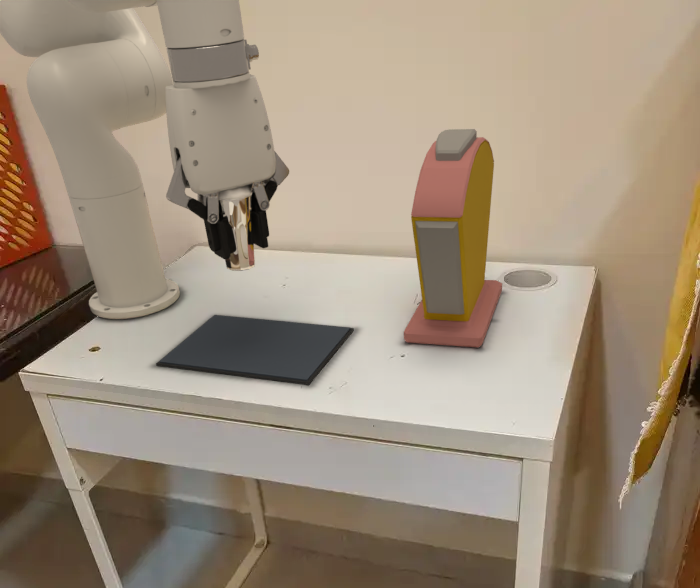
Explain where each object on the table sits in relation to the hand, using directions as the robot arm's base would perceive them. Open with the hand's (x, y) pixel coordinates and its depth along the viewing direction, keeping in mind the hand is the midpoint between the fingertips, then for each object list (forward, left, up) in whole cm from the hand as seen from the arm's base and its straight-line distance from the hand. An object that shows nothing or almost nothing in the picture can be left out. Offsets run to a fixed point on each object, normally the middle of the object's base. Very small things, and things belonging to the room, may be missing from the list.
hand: (240, 248), depth 81 cm
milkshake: (0, 0, -2) cm, 2 cm away
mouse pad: (0, 0, -12) cm, 12 cm away
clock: (+9, +23, -12) cm, 28 cm away
